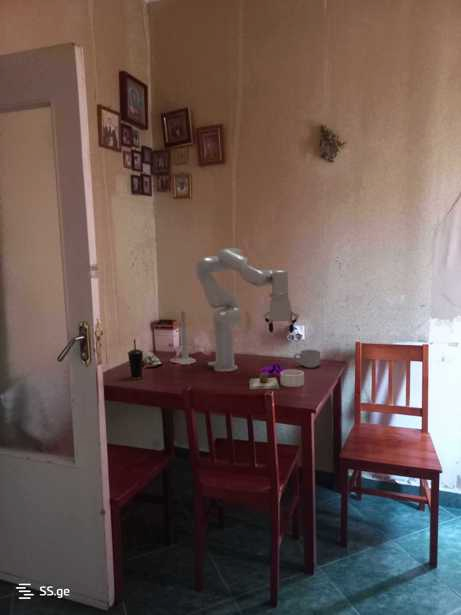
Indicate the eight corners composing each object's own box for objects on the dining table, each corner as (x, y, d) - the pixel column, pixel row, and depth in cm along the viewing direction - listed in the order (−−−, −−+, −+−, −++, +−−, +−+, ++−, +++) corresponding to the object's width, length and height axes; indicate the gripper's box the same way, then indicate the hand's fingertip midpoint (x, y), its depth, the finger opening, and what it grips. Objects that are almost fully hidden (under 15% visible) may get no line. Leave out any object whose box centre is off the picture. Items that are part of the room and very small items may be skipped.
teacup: (319, 363, 248) (319, 349, 247) (321, 369, 237) (321, 353, 236) (293, 364, 249) (293, 349, 248) (294, 369, 238) (294, 354, 237)
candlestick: (195, 365, 254) (193, 311, 250) (172, 366, 254) (169, 312, 250) (197, 359, 267) (195, 308, 263) (175, 360, 267) (172, 308, 263)
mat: (249, 391, 206) (249, 388, 205) (249, 382, 218) (249, 380, 218) (279, 390, 205) (279, 388, 205) (276, 381, 218) (276, 379, 218)
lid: (250, 388, 206) (250, 377, 205) (250, 380, 218) (250, 370, 217) (277, 387, 206) (277, 376, 205) (275, 379, 218) (275, 369, 217)
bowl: (281, 389, 207) (281, 376, 206) (279, 382, 217) (279, 369, 216) (305, 388, 206) (305, 375, 205) (302, 381, 217) (301, 369, 216)
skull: (164, 360, 263) (161, 350, 255) (161, 376, 256) (158, 366, 249) (143, 360, 264) (140, 350, 256) (140, 376, 257) (136, 365, 249)
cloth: (263, 368, 245) (263, 356, 244) (298, 370, 238) (297, 358, 238) (249, 379, 225) (249, 367, 224) (287, 382, 218) (286, 370, 217)
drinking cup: (147, 376, 234) (145, 338, 232) (139, 381, 227) (137, 341, 225) (134, 376, 237) (131, 337, 234) (126, 380, 230) (123, 340, 227)
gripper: (260, 297, 217) (261, 333, 219) (296, 297, 211) (297, 334, 213) (265, 295, 224) (266, 330, 226) (300, 295, 217) (301, 331, 220)
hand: (281, 332), depth 220 cm, fingers open, 9 cm apart
